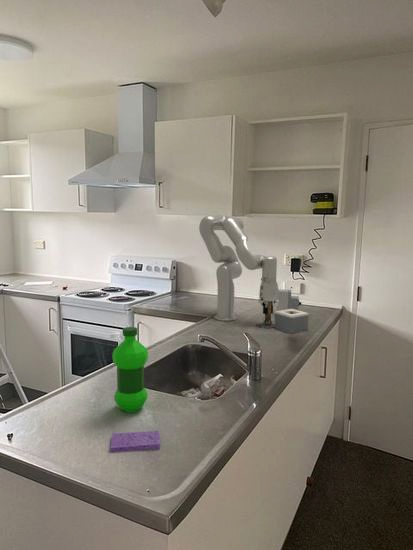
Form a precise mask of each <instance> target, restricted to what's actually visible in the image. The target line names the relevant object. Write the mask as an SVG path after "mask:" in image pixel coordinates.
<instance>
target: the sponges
mask: <svg viewBox="0 0 413 550" xmlns="http://www.w3.org/2000/svg"><path fill="white" fill-rule="evenodd" d="M110 439H111V440H110V450H109V452H110V453H116V452H117V453H118V452H132V451H144V450H145V451H146V450H160V449H161V440H160V430H159V429H158V430H148V431H131V432H130V431H129V432H113V433H111V438H110Z"/></svg>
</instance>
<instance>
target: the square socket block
mask: <svg viewBox="0 0 413 550" xmlns="http://www.w3.org/2000/svg"><path fill="white" fill-rule="evenodd" d="M274 324H275V327H274V329H277V330H279V331H282V332H285V333H289V334H296V333H299V332H300V333H301V332H305V331H308V330H309V313H308V312H306V311H302V310H299V309H298V310H295V309H287V310H281V311H276V310H275V312H274Z"/></svg>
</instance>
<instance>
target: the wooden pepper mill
mask: <svg viewBox="0 0 413 550" xmlns="http://www.w3.org/2000/svg"><path fill="white" fill-rule="evenodd" d="M271 303H272V301H270V302H268V303H267V307H268V314H267V315H266V314H264V320H263V323H265V324H272V323H273V321H272V314H271Z"/></svg>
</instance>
